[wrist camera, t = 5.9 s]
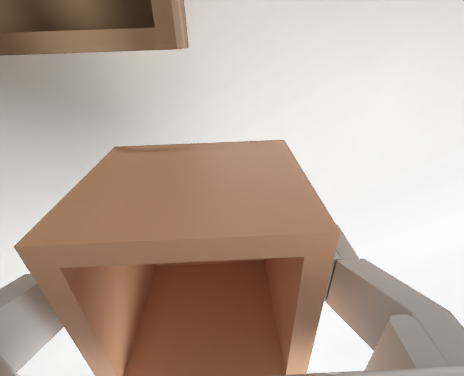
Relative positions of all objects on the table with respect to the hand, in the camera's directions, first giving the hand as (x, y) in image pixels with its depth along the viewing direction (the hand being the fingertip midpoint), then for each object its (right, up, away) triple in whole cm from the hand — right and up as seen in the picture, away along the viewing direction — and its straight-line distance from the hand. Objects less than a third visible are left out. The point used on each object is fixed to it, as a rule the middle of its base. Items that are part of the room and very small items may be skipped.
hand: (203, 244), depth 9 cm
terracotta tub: (0, +1, +2) cm, 2 cm away
